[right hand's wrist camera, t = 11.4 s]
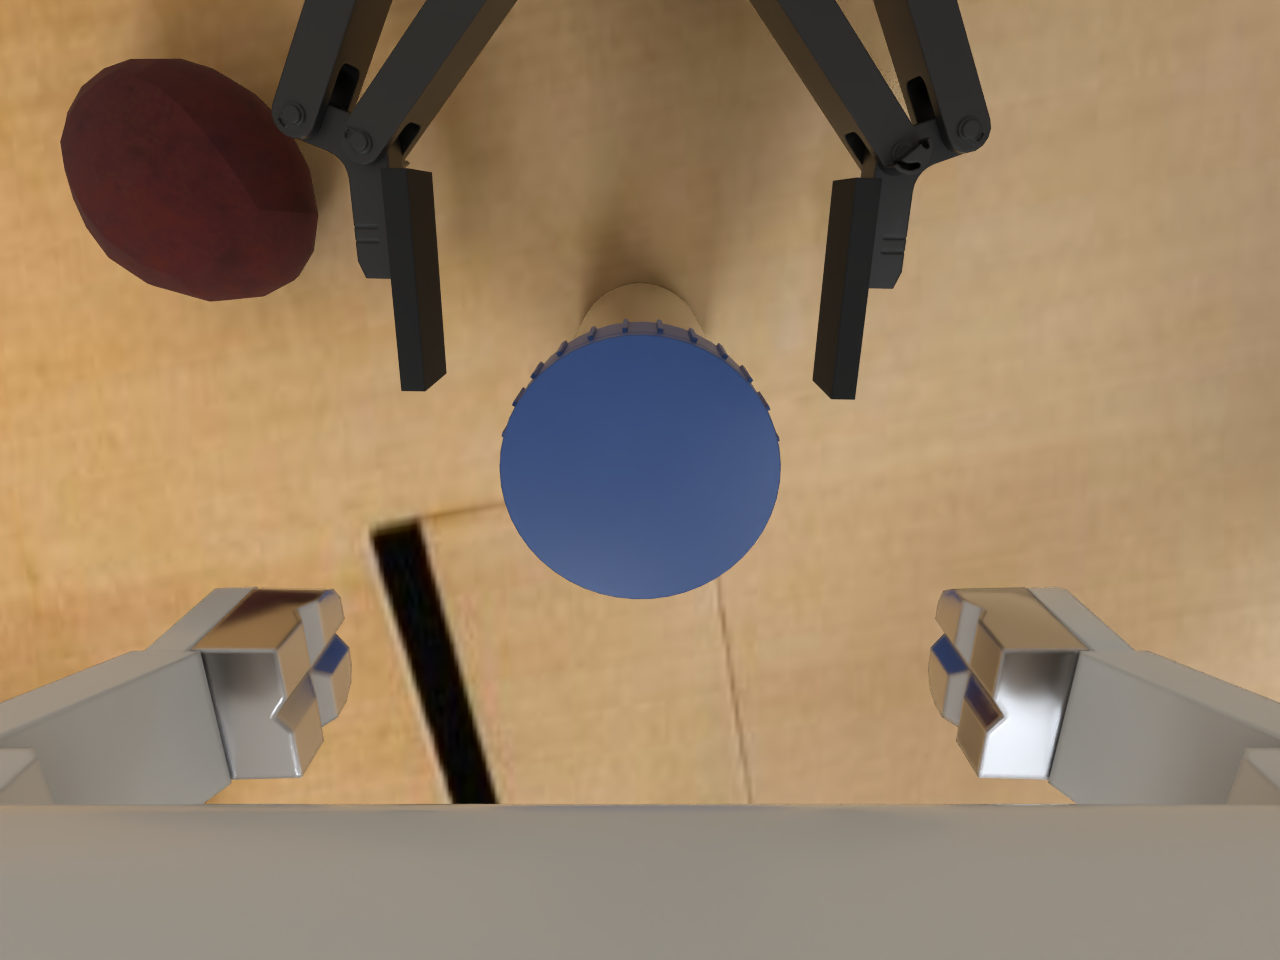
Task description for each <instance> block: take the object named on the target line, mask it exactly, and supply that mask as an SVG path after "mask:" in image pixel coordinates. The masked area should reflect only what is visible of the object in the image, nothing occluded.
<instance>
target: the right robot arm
mask: <svg viewBox="0 0 1280 960" xmlns="http://www.w3.org/2000/svg"><path fill="white" fill-rule="evenodd" d="M344 619H345V618H344V613H343V608H342V603H341V598H340V596H339V595H338V594H337V593H336V591H335V590H334V589H307V588H258V587H232V588H216V589H214V590H213V591H212V592H211V593H210V594H208V595H207V596H206V597H205V598H204V599H203V600H202V601H200V602H199V603H198V604H197V605H196V606H195V607H194V608H193V609H191V610H190V611H189V612H188V613H187V614H186V615H185V616H183V617H182V618H181V619H180V620H179V621H178V622H177V623H175V624H174V625H173V626H172V627H171V628H170V629H169V630H168V631H166V632H165V633H164V634H163V635H162V636H161V637H160V638H158V639H157V640H156V641H155V642H154V643H153V644H152V645H151V646H149V647H148V648H147V649H146V650H145V651H131V652H128V653H125V654H123V655H120V656H118V657H115V658H113V659H110V660H108V661H105V662H103V663H100V664H98V665H95V666H92V667H90V668H87V669H85V670H82V671H80V672H77V673H75V674H72V675H70V676H67V677H64V678H62V679H59V680H57V681H54V682H52V683H49V684H47V685H44V686H42V687H39V688H37V689H34V690H31V691H29V692H26V693H24V694H21V695H19V696H16V697H14V698H11V699H9V700H6V701H4V702H1V703H0V960H1280V703H1279V702H1276V701H1274V700H1271V699H1268V698H1266V697H1263V696H1261V695H1258V694H1256V693H1253V692H1251V691H1248V690H1246V689H1243V688H1241V687H1238V686H1236V685H1233V684H1231V683H1228V682H1225V681H1223V680H1220V679H1218V678H1215V677H1213V676H1210V675H1208V674H1205V673H1203V672H1200V671H1198V670H1195V669H1193V668H1190V667H1187V666H1185V665H1182V664H1180V663H1177V662H1175V661H1172V660H1170V659H1167V658H1165V657H1162V656H1160V655H1157V654H1155V653H1152V652H1149V651H1135V650H1134V649H1133V648H1132V647H1131V646H1130V645H1128V644H1127V643H1126V642H1125V641H1124V640H1123V639H1122V638H1121V637H1119V636H1118V635H1117V634H1116V633H1115V632H1114V631H1113V630H1111V629H1110V628H1109V627H1108V626H1107V625H1106V624H1105V623H1104V622H1102V621H1101V620H1100V619H1099V618H1098V617H1097V616H1096V615H1094V614H1093V613H1092V612H1091V611H1090V610H1089V609H1088V608H1087V607H1085V606H1084V605H1083V604H1082V603H1081V602H1080V601H1079V600H1078V599H1076V598H1075V597H1074V596H1073V595H1072V594H1071V593H1070V592H1068V591H1067V590H1066V589H1063V588H1059V587H1037V588H1025V587H1020V588H978V589H951V590H945V591H943V593H942V595H941V597H940V599H939V602H938V606H937V612H936V618H935V619H936V621H937V622H938V624H939V625H940V627H941V628H942V630H943V631H944V634H943V635H942V636H941V637H940V638H939V639H938V641H937V642H936V643H935V644H934V645H933V646H932V647H931V650H930V658H929V666H928V673H929V683H930V691H931V694H932V697H933V700H934V703H935V705H936V707H937V709H938V711H939V712H940V714H941V716H942V717H943V718H944V719H946V720H948V721H949V722H951V723H952V724H954V725H956V726H957V727H958V732H957V738H956V741H957V743H958V745H959V746H960V748H961V749H962V751H963V753H964V754H965V756H966V758H967V759H968V761H969V763H970V764H971V766H972V768H973V769H974V771H975V773H976V774H977V776H978V778H1009V779H1046V780H1049V781H1048V783H1050V784H1051V785H1052V786H1054V787H1055V788H1056V789H1058V790H1059V791H1060V792H1062V793H1063V794H1064V795H1066V796H1067V797H1069V798H1070V799H1071V800H1073V801H1074V802H1075V803H1077V804H204V803H205V802H206V801H208V800H209V799H210V798H212V797H213V796H214V795H216V794H217V793H218V792H220V791H221V790H223V789H224V788H225V787H227V786H228V785H229V784H231V780H234V779H269V778H302V776H303V774H304V773H305V771H306V769H307V768H308V766H309V764H310V763H311V761H312V759H313V758H314V756H315V754H316V753H317V751H318V750H319V748H320V746H321V745H322V743H323V741H324V738H323V732H322V727H323V726H324V725H326V724H328V723H329V722H331V721H332V720H334V719H336V718H337V717H338V716H339V714H340V712H341V710H342V709H343V707H344V705H345V703H346V701H347V697H348V693H349V689H350V684H351V667H352V663H351V656H350V649H349V647H348V646H347V645H346V644H345V643H344V642H343V641H342V639H341V638H340V637H339V636H338V635H337V634H336V631H337V630H338V628H339V627H340V625H341V624H342V622H343V621H344Z"/></svg>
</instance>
